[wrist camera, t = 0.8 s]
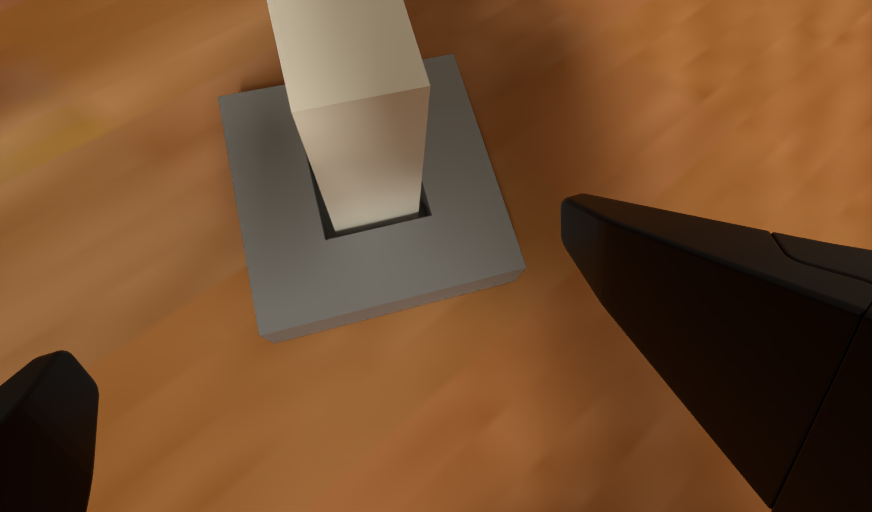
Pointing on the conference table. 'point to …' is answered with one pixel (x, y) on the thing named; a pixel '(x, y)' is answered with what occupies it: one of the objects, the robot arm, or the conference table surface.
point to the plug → (356, 105)
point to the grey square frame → (373, 249)
